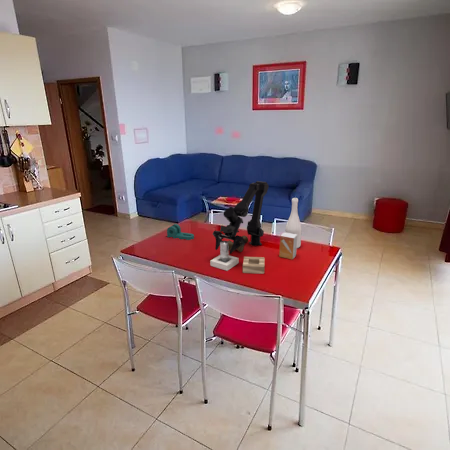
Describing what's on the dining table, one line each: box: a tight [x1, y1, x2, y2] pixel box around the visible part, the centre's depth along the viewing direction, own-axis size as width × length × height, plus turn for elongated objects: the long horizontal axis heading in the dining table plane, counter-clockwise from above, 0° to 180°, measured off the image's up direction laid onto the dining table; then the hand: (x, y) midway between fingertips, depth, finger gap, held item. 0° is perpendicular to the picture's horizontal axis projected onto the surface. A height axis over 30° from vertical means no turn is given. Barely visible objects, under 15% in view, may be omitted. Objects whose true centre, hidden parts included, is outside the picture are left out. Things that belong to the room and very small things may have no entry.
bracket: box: [166, 223, 195, 241], centre depth 211 cm, size 18×7×8 cm, turn 68°
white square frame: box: [209, 254, 240, 272], centre depth 172 cm, size 11×11×3 cm
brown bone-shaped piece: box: [227, 235, 249, 253], centre depth 192 cm, size 6×10×20 cm
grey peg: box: [219, 240, 230, 263], centre depth 170 cm, size 4×4×13 cm
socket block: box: [242, 256, 265, 275], centre depth 166 cm, size 11×11×4 cm
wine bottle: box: [284, 197, 302, 249], centre depth 189 cm, size 10×10×30 cm
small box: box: [278, 231, 298, 260], centre depth 178 cm, size 8×6×13 cm
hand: (222, 251), depth 168 cm, fingers open, 9 cm apart
